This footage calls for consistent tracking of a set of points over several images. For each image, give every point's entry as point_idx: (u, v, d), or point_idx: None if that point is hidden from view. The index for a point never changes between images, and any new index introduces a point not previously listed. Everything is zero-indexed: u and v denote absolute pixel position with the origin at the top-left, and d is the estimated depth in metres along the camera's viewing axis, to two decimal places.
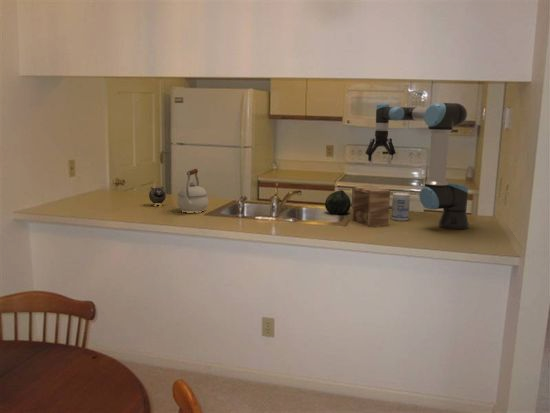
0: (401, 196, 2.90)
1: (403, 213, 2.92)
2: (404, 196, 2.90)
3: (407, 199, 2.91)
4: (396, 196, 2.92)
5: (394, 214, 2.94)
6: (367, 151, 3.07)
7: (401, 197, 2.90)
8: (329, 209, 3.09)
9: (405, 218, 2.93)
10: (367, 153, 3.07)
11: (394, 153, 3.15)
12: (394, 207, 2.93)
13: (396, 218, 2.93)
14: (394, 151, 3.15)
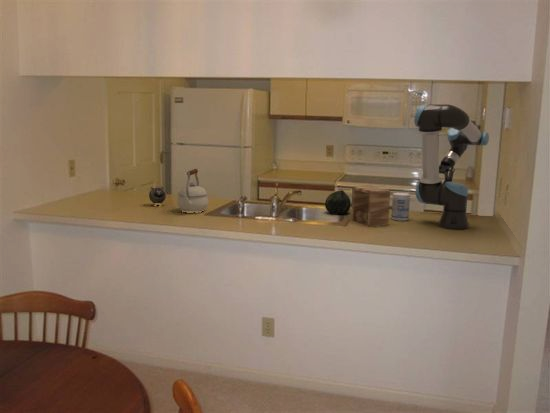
0: (401, 196, 2.90)
1: (403, 213, 2.92)
2: (404, 196, 2.90)
3: (407, 199, 2.91)
4: (396, 196, 2.92)
5: (394, 214, 2.94)
6: None
7: (401, 197, 2.90)
8: (329, 209, 3.09)
9: (405, 218, 2.93)
10: None
11: (448, 179, 2.97)
12: (394, 207, 2.93)
13: (396, 218, 2.93)
14: (449, 177, 2.97)
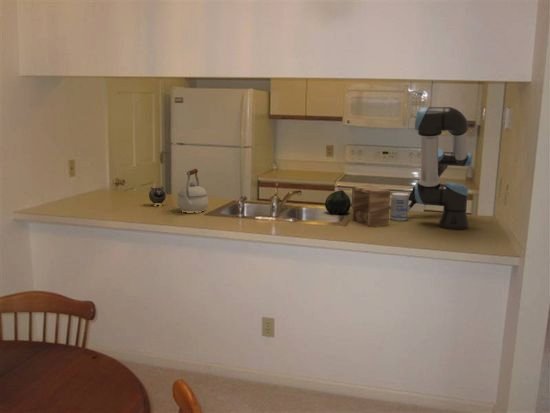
0: (400, 196, 2.90)
1: (402, 213, 2.92)
2: (403, 196, 2.90)
3: (406, 199, 2.91)
4: (395, 196, 2.92)
5: (393, 214, 2.94)
6: (409, 198, 3.05)
7: (400, 197, 2.90)
8: (329, 209, 3.09)
9: (404, 218, 2.93)
10: None
11: (415, 200, 2.98)
12: (393, 207, 2.93)
13: (395, 218, 2.93)
14: None
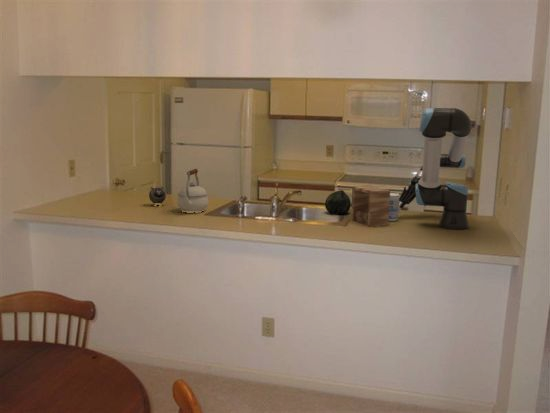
0: (390, 196, 2.89)
1: (391, 214, 2.90)
2: (393, 196, 2.88)
3: (396, 199, 2.89)
4: None
5: None
6: None
7: None
8: (329, 209, 3.09)
9: (394, 219, 2.91)
10: None
11: (405, 201, 2.97)
12: None
13: None
14: (407, 200, 2.96)
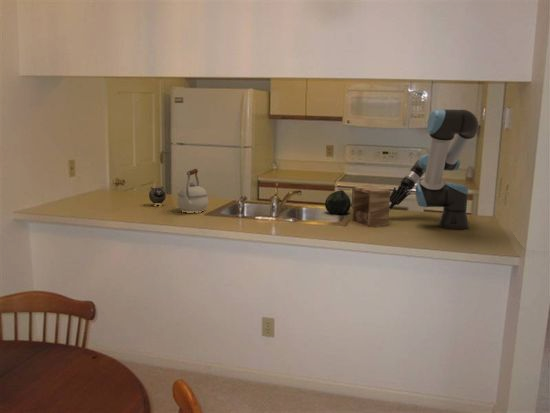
0: None
1: None
2: None
3: None
4: None
5: None
6: None
7: None
8: (329, 209, 3.09)
9: None
10: None
11: (394, 201, 2.93)
12: None
13: None
14: (396, 200, 2.92)
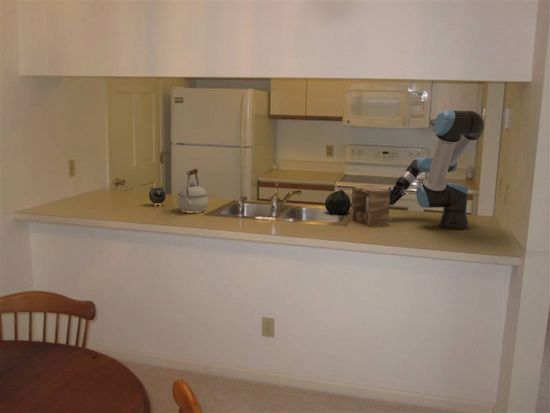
0: None
1: None
2: None
3: None
4: None
5: None
6: None
7: None
8: (329, 209, 3.09)
9: None
10: None
11: None
12: None
13: None
14: (391, 200, 2.89)
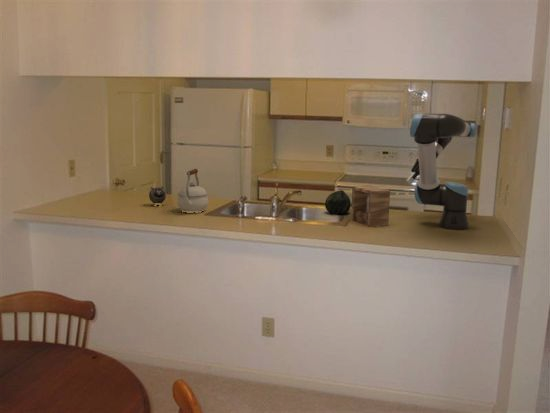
0: None
1: None
2: None
3: None
4: None
5: None
6: None
7: None
8: (329, 209, 3.09)
9: None
10: (411, 170, 2.99)
11: (418, 171, 2.94)
12: None
13: None
14: (420, 170, 2.93)
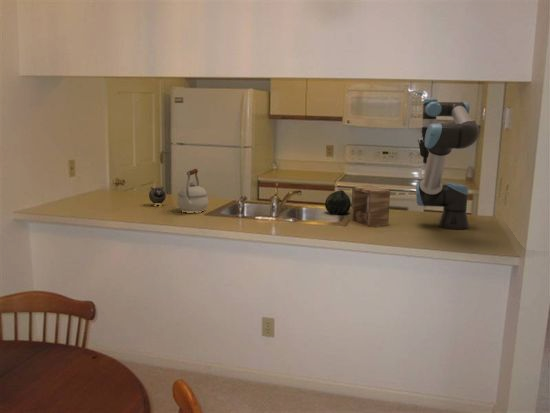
0: None
1: None
2: None
3: None
4: None
5: None
6: (421, 154, 2.93)
7: None
8: (329, 209, 3.09)
9: None
10: (423, 156, 2.93)
11: None
12: None
13: None
14: None
